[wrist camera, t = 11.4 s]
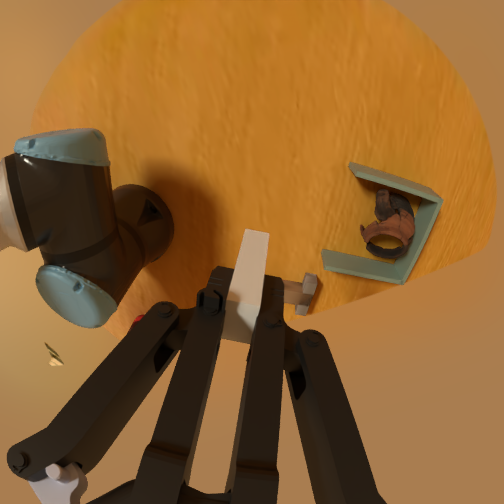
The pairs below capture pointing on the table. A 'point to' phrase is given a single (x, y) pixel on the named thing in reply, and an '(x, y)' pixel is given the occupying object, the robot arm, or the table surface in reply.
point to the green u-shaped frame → (406, 262)
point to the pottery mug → (390, 224)
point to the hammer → (300, 293)
